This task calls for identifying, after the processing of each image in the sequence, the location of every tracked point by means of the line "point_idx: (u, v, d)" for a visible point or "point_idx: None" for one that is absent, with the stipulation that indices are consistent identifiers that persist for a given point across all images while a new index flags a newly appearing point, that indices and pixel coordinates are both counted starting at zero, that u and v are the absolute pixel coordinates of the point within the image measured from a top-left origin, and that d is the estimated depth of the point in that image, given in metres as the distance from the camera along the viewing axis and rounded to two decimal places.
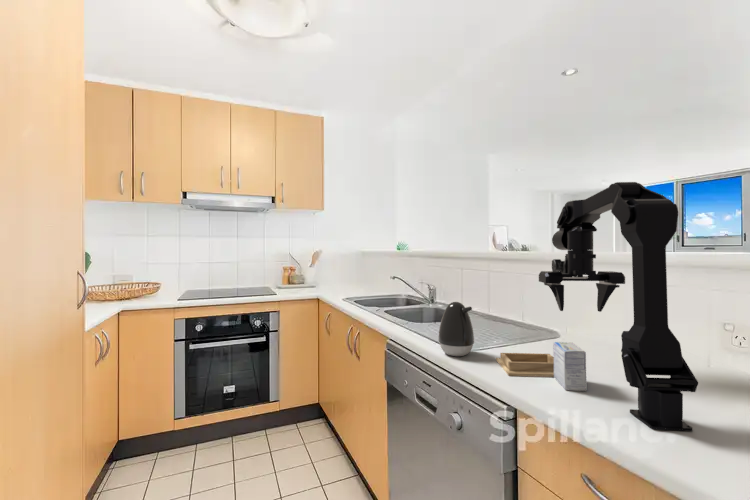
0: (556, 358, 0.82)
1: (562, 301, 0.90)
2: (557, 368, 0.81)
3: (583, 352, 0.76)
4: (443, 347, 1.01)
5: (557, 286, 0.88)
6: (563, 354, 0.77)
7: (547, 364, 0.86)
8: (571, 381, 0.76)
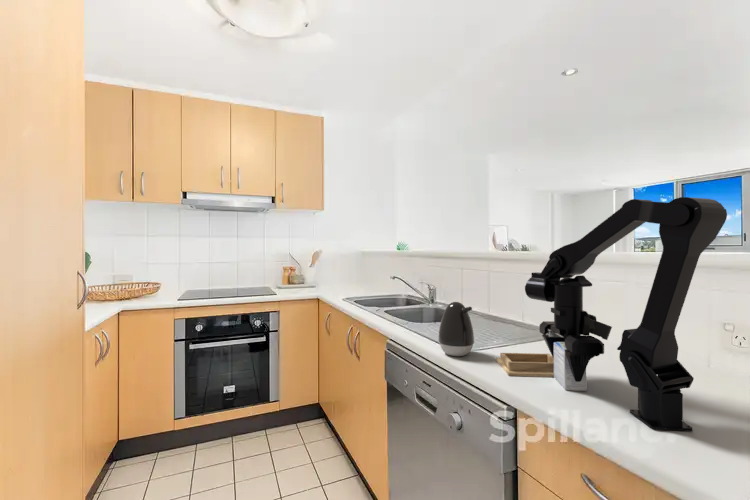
0: (556, 358, 0.82)
1: (553, 356, 0.85)
2: (557, 368, 0.81)
3: None
4: (443, 347, 1.01)
5: (543, 337, 0.87)
6: (563, 354, 0.77)
7: (547, 364, 0.86)
8: (570, 381, 0.76)
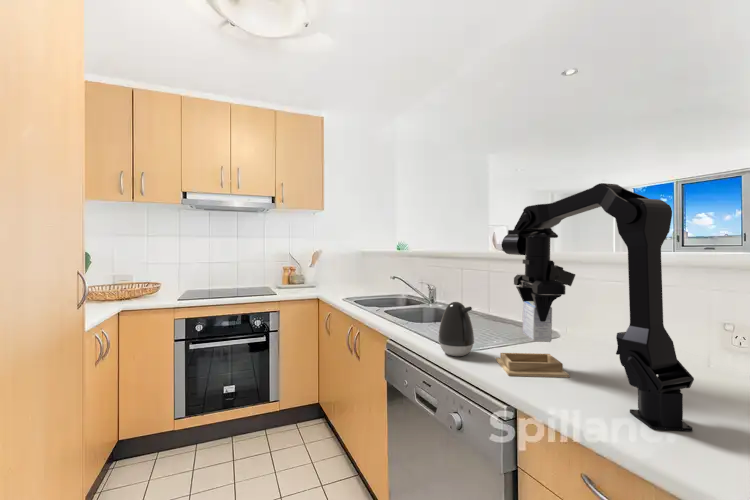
0: (525, 315, 0.91)
1: None
2: (526, 324, 0.90)
3: (550, 307, 0.85)
4: (443, 347, 1.01)
5: (517, 288, 0.96)
6: (533, 310, 0.86)
7: (547, 364, 0.86)
8: (538, 333, 0.86)
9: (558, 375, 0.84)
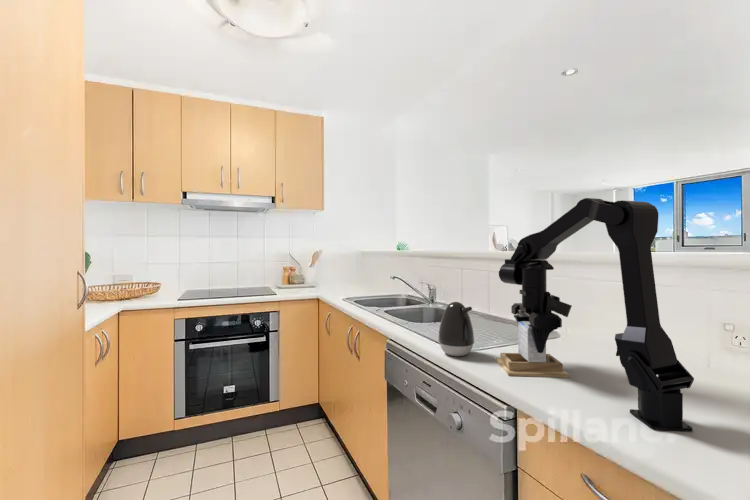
0: (520, 335, 0.92)
1: None
2: (521, 344, 0.91)
3: None
4: (443, 347, 1.01)
5: None
6: (526, 331, 0.87)
7: (547, 364, 0.86)
8: (533, 354, 0.86)
9: (558, 375, 0.84)
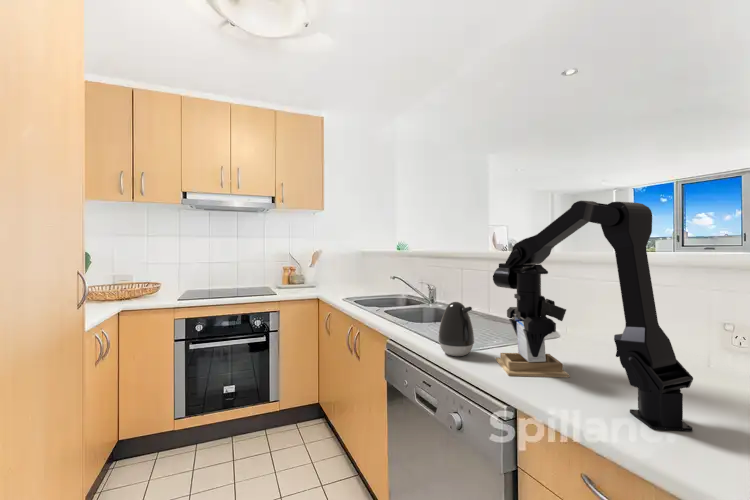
0: (519, 335, 0.92)
1: None
2: (520, 344, 0.91)
3: None
4: (443, 347, 1.01)
5: (510, 321, 0.97)
6: None
7: (547, 364, 0.86)
8: None
9: (558, 375, 0.84)
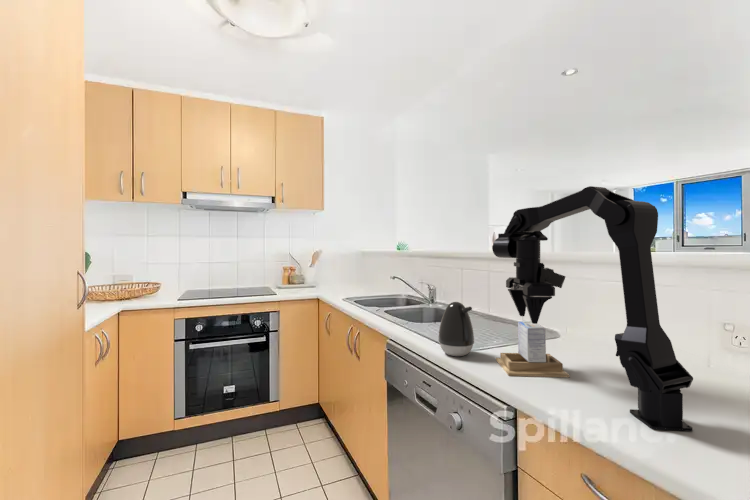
0: (520, 335, 0.92)
1: (517, 306, 0.95)
2: (521, 344, 0.91)
3: (543, 328, 0.86)
4: (443, 347, 1.01)
5: (508, 290, 0.97)
6: (526, 331, 0.87)
7: (547, 364, 0.86)
8: (533, 354, 0.86)
9: (558, 375, 0.84)
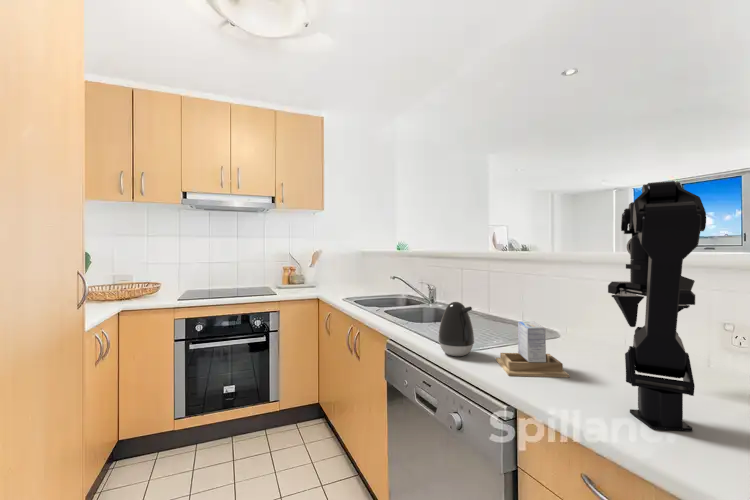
0: (520, 335, 0.92)
1: (626, 315, 0.82)
2: (521, 344, 0.91)
3: (543, 328, 0.86)
4: (443, 347, 1.01)
5: (614, 297, 0.84)
6: (526, 331, 0.87)
7: (547, 364, 0.86)
8: (533, 354, 0.86)
9: (558, 375, 0.84)
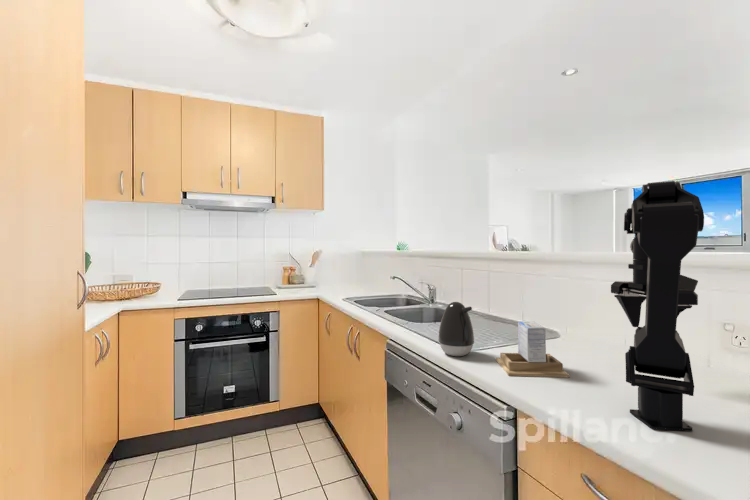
0: (520, 335, 0.92)
1: (628, 315, 0.82)
2: (521, 344, 0.91)
3: (543, 328, 0.86)
4: (443, 347, 1.01)
5: (616, 297, 0.83)
6: (526, 331, 0.87)
7: (547, 364, 0.86)
8: (533, 354, 0.86)
9: (558, 375, 0.84)
